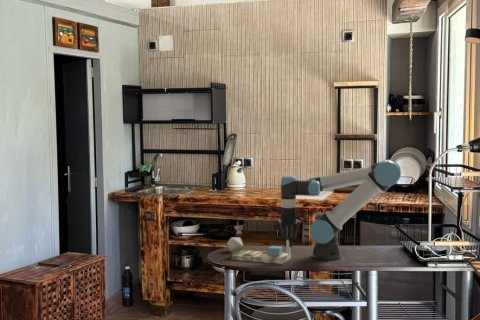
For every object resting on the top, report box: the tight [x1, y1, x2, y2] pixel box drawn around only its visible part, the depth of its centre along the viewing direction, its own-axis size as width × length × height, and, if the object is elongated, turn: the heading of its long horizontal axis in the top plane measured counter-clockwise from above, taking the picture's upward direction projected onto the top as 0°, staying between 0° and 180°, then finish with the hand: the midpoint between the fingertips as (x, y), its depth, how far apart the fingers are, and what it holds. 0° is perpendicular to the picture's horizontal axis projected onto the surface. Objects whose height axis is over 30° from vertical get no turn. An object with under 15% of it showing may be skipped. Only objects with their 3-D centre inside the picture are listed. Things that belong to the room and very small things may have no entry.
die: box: [226, 236, 244, 252], centre depth 297 cm, size 8×9×10 cm
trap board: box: [229, 244, 292, 265], centre depth 279 cm, size 28×14×5 cm, turn 68°
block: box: [267, 245, 284, 257], centre depth 276 cm, size 6×6×4 cm
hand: (288, 253), depth 273 cm, fingers closed
